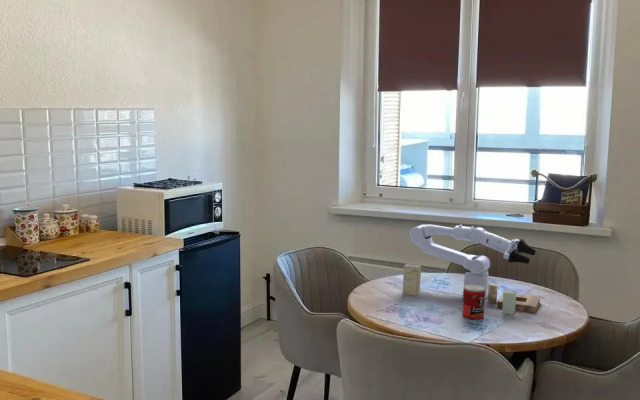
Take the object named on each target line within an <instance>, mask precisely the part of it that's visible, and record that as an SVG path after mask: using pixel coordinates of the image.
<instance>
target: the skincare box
mask: <svg viewBox="0 0 640 400" xmlns="http://www.w3.org/2000/svg"><path fill="white" fill-rule="evenodd" d="M421 275H422V265H421V264H415V263H405V264H404V265H403V277H402V278H403V279H402V281H403V282H402V294H403V295H409V296H413V297H417V296H418V295H419V294H420V293H421V292H420V291H421Z"/></svg>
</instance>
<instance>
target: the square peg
mask: <svg viewBox="0 0 640 400" xmlns="http://www.w3.org/2000/svg"><path fill="white" fill-rule="evenodd" d="M502 294H503V308H502V314H508V315H514V314H515V312H516V310H515V304H516V294H517V291H516V290H511V289H505V290H504V291H503V293H502Z"/></svg>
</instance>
